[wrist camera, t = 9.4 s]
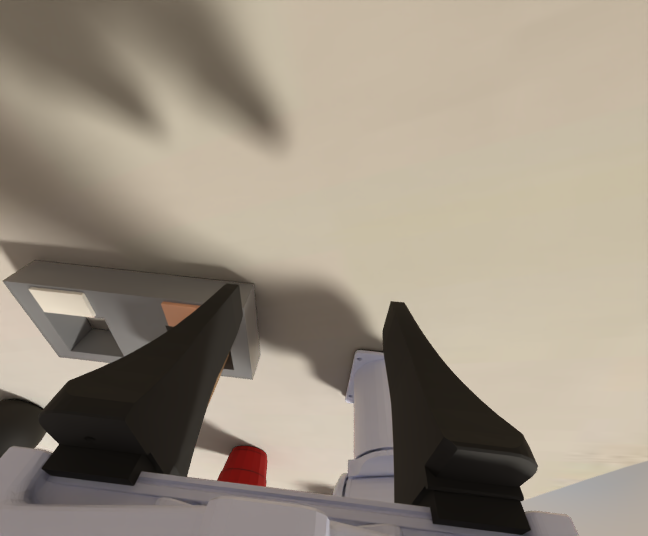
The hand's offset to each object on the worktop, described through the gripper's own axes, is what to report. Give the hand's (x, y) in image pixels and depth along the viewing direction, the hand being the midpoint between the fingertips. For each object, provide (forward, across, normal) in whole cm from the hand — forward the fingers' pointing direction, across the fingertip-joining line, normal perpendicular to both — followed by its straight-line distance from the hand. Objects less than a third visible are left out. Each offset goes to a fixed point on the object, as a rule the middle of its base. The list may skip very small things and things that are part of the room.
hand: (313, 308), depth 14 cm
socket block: (+9, +16, +12) cm, 22 cm away
